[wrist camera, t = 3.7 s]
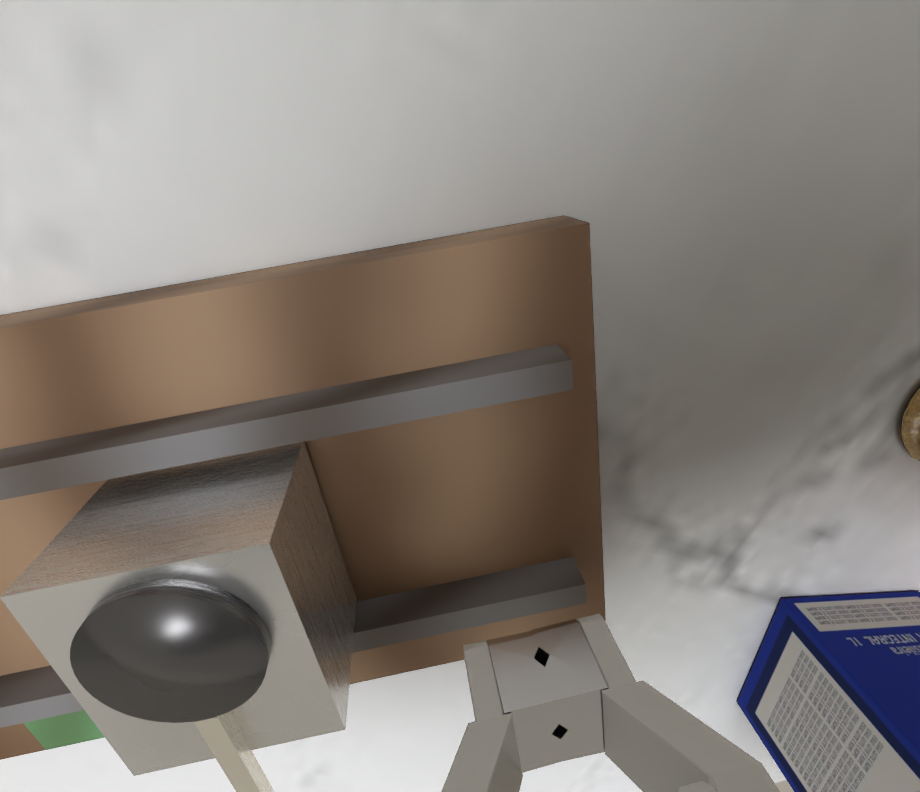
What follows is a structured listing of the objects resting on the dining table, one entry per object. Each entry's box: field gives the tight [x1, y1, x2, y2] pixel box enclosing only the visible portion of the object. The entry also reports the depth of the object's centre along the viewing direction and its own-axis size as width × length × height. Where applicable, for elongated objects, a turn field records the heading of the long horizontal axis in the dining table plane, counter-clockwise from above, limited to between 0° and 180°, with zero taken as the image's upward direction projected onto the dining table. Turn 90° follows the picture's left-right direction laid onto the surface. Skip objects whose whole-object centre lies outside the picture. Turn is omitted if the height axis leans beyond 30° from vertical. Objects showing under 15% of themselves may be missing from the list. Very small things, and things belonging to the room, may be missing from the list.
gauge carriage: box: [0, 442, 356, 792], centre depth 13 cm, size 5×9×4 cm, turn 9°
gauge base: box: [0, 216, 605, 759], centre depth 13 cm, size 26×14×7 cm, turn 99°
